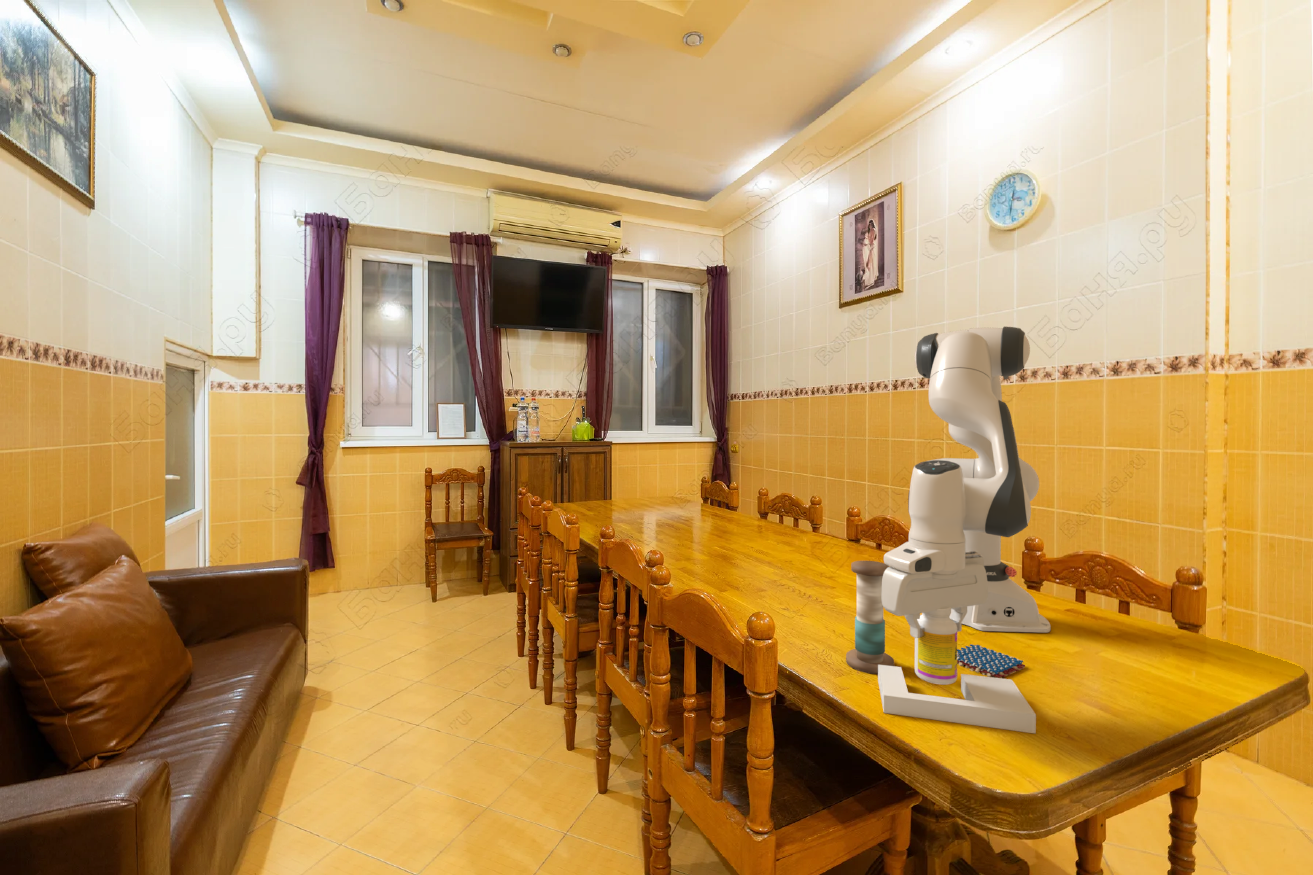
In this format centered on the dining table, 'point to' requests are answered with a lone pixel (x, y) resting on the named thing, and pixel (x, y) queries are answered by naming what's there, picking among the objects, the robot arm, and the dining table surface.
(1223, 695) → the dining table surface
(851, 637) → the dining table surface
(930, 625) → the supplement bottle
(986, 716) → the notched board
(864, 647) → the bobbin
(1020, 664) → the woven mat
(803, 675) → the dining table surface
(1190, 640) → the dining table surface
